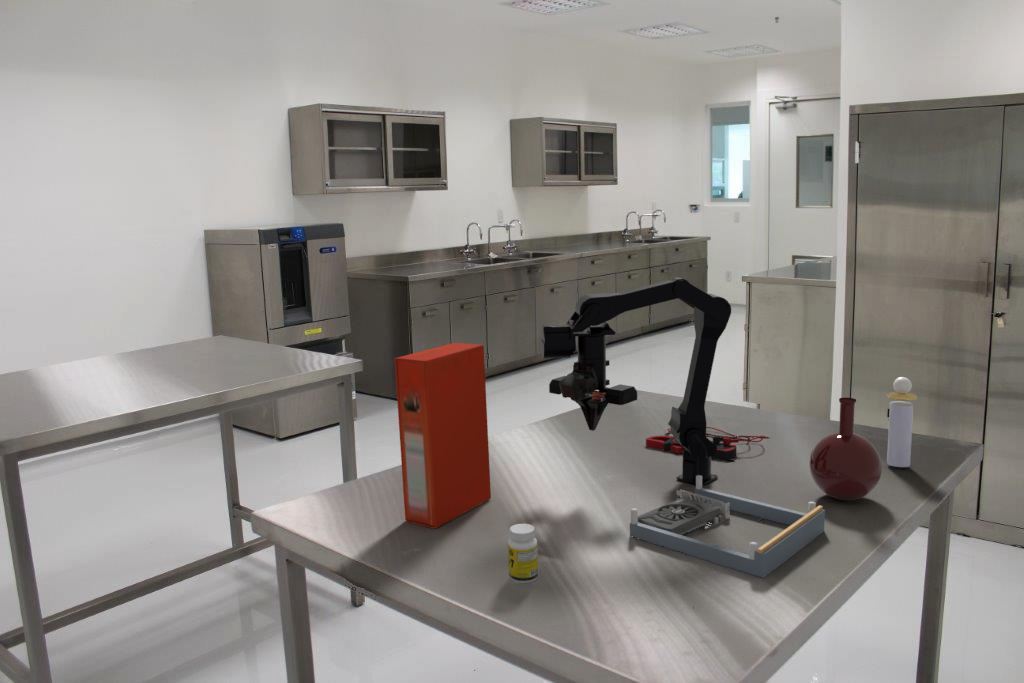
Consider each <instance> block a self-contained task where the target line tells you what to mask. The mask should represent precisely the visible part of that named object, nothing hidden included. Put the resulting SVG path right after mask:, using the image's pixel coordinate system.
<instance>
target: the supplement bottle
mask: <svg viewBox="0 0 1024 683" xmlns="http://www.w3.org/2000/svg"><path fill="white" fill-rule="evenodd" d="M535 532H536V530H535V526H534V525H531V524H528V523H518V524H514V525H511V526H510V528H509V539H508V542H507V551H508V576H509V578H510V579H509V580H511V581H512V582H514V583H517V584H528V583H533V582H535V581H536V580H537V579H538V578H539V555H538V554H539V551H538V541H537V538H536V533H535Z"/></svg>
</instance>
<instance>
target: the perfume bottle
mask: <svg viewBox="0 0 1024 683" xmlns="http://www.w3.org/2000/svg"><path fill="white" fill-rule="evenodd" d="M892 387H893V391H890V392H887V394H886V396H887V398H888V399H891V400H894V401H891V402H889V408H887V414H886V418H887V420H888V432H887V433H888V434H887V435H888V436H887V449H886V450H887V453H886V454H887V455H886V464H887V465H888V466H892V467H895V468H896V467H897V468H908V467H910V466H911V453H912V436H913V435H912V434H913V418H914V417H913V416H914V403H912V402H909V401H916V400H917V399H918V395H917V394H916V393H913V392H911V390H912V388H913V383H912V380H910V379H909V378H908V377H904V376H900V377H897V378H896V379H895V380H894V381H893V384H892Z"/></svg>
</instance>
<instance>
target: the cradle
mask: <svg viewBox="0 0 1024 683" xmlns="http://www.w3.org/2000/svg"><path fill="white" fill-rule="evenodd" d="M694 493H695V494H699V495H702V496H705V497H709V498H712V499H716V500H719V501H722V502H724V503H725V504H727V503H730V506H729V508H730V510H731V511H734V512H737V513H742V514H746V515H749V516H753V517H758V518H761V519H765V520H770V521H773V522H776V523H780V524H785V525H788V527H787V528H785V529H783V530H782V531H781V532H779V533H778V534H776V536H774V537H772V538H771V539H770V540H768V541H767V542H765V543H764V544H762V545H761V546H760V547H758V542H755V541H749V549H748V550H749V553H748V554H746V553H744V552H739V551H736V550H733V549H730V548H727V547H723V546H719V545H716V544H713V543H709V542H706V541H702V540H699V539H696V538H692V537H689V536H685V535H679V534H676V533H672V532H669V531H665V530H662V529H659V528H655V527H652V526H648V525H645V524H642V523H638V516H639V514H638V513H639V512H638V508H635V507H634V508H633V507H632V508H631V509H630V522H629V537H630V536H633V537H636V538H635V539H637V538H639V539H638V540H640V539H642V540H641V541H643V540H645V541H644V542H646V541H648V542H647V543H650V542H651V543H650V544H653V545H656V544H657V546H659V545H661V546H660V547H662V546H664V547H663V548H666V549H669V548H670V549H669V550H672V549H673V550H672V551H675V550H676V552H678V551H680V552H679V553H682V552H683V553H682V554H685V553H686V554H685V555H688V554H689V556H691V555H692V557H694V556H695V557H694V558H698V559H701V560H704V561H707V560H708V561H707V562H710V561H711V563H714V564H717V565H721V566H722V567H726V566H727V567H726V568H730V569H733V570H737V571H740V572H743V573H746V574H749V575H752V576H755V577H759V578H762V579H764V578H766V576H768V575H769V574H771V573H772V572H773V571H775V570H776V569H777V568H779V567H780V566H781V565H782V564H784V563H785V562H787V560H789V559H790V558H791V557H793V556H794V555H795V554H797V553H798V552H799V551H801V550H802V549H803V548H805V547H806V546H807V545H809V543H811V542H812V541H813V540H814V539H816V538H817V537H818V536H820V535H822V533H824V532H825V524H826V523H825V518H826V516H825V515H826V510H825V509H824V508H823V505H820V504H819V505H818V506H816V504H817V503H816V502H815V501H808V509H807V510H808V511H807V512H803V511H797V510H793V509H791V508H786V507H781V506H777V505H773V504H770V503H766V502H761V501H758V500H754V499H749V498H746V497H741V496H737V495H733V494H728V493H724V492H721V491H716V490H713V489H710V488H704V487H703V485H702V476H701V475H697V476H696V484H695V487H694ZM695 497H696V500H697V501H699V500H698V498H697V496H695ZM699 498H700V501H701V502H703V501H702V498H701V497H699ZM703 499H705V498H703ZM694 500H695V499H694ZM696 500H695V501H696ZM707 502H708V501H707V499H705V501H704V503H707ZM709 503H710V504H711V501H710V500H709ZM715 503H716V501H715ZM715 503H714V506H715ZM718 503H719V502H718ZM718 503H717V506H718ZM711 506H712V504H711ZM720 506H721V503H720V505H719V507H720ZM633 537H632V538H633Z"/></svg>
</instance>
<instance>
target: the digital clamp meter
mask: <svg viewBox="0 0 1024 683" xmlns="http://www.w3.org/2000/svg"><path fill="white" fill-rule="evenodd" d="M706 429H711V430H715V431H718V432H721V433H723V434H726V435H716V434H712V433H707V432H706V437H707V438H711V439H712V440H710V441H711V442H712V443H713V444H714V445H715V446H717V450H716V453H715V455H714V456H713V457H711V459H716V460H722V461H729V460H734V459H735V458H736V457H737V445H736V443H739V442H747V443H745V445H749V444H750V442H751V443H760V442H761V441H763V440H764V438H765V439H771V437H769V436H765V435H743V434H742V435H735V434H732V433H729V432H726V431H724V430H722V429H718V428H716V427H710V426H706ZM666 431H668V432H666V433H664V435H653V436H652V435H651V436H649V437H647V438H645V446H646V448H650V449H657V450H662V451H664V452H672V453H675V454H683V450H684V449H685V448H684V447H682V446H681V445H680V443H679V442H678V441H677V440H676V439H675V438H674V436H673V435H672V433H671V428H667V430H666ZM670 434H671V435H670ZM728 435H729V436H728ZM735 436H736V437H735ZM737 436H738V437H737ZM742 437H743V438H742ZM748 437H756V438H748ZM756 439H757V440H756ZM758 439H759V440H758ZM734 443H735V444H734Z"/></svg>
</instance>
